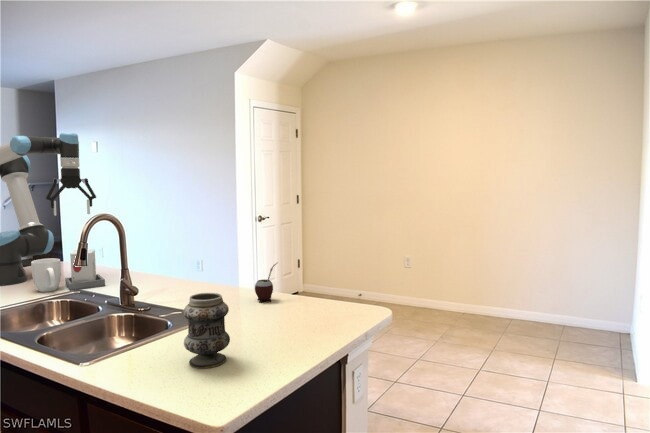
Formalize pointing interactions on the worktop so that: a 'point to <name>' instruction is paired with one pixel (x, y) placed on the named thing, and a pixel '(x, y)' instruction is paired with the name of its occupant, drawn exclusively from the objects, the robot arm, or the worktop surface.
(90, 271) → the supplement box
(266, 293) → the mate gourd
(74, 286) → the tray
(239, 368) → the worktop surface
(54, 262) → the mug
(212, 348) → the apothecary jar
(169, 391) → the worktop surface
